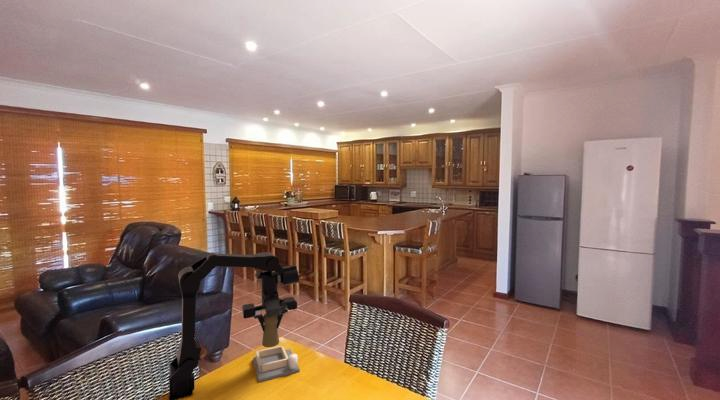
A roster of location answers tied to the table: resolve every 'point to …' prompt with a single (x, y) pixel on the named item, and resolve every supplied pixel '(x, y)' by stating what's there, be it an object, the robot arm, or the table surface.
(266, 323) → the cork
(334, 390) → the table surface
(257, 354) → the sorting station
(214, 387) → the table surface
